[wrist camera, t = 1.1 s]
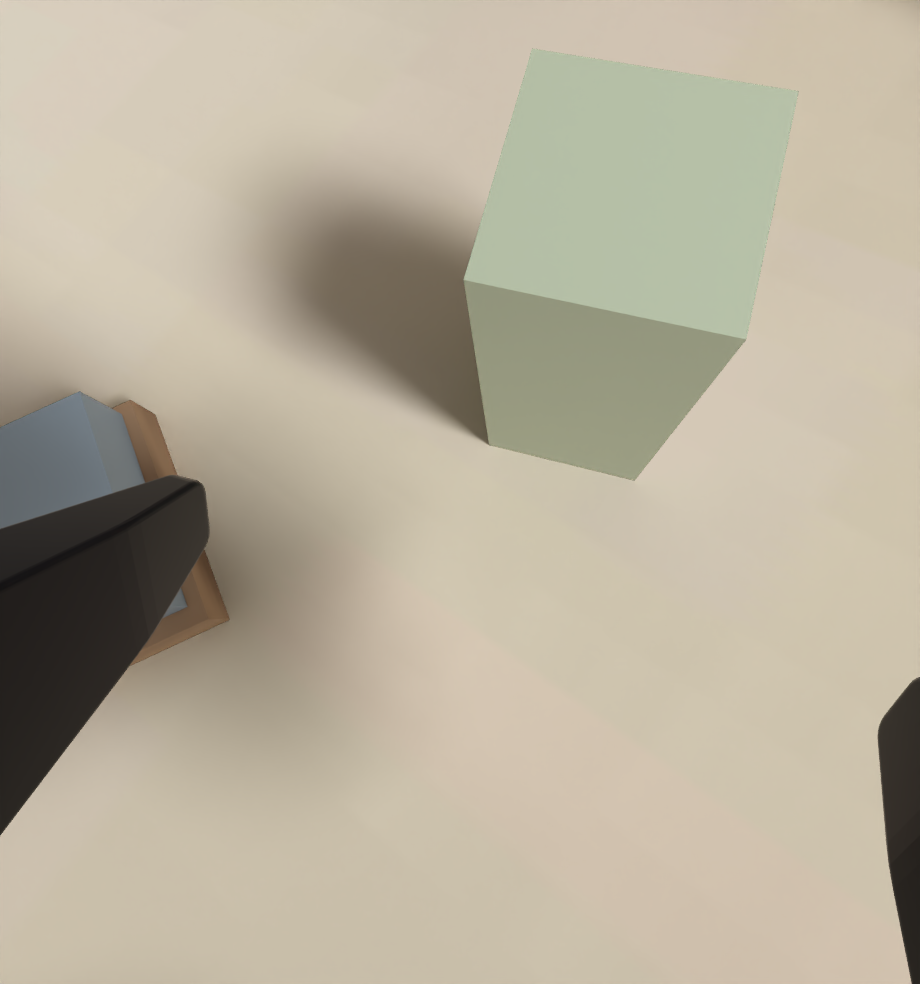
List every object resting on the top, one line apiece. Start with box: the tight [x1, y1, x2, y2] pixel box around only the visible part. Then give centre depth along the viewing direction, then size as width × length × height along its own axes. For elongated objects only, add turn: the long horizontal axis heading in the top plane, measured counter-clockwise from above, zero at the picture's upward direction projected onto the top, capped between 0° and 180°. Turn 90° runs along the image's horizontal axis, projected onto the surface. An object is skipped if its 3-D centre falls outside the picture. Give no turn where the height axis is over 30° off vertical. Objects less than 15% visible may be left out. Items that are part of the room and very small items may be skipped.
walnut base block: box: [111, 400, 230, 666], centre depth 23 cm, size 8×8×2 cm
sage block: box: [464, 49, 799, 481], centre depth 17 cm, size 5×5×11 cm
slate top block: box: [0, 391, 188, 618], centre depth 20 cm, size 7×7×2 cm
